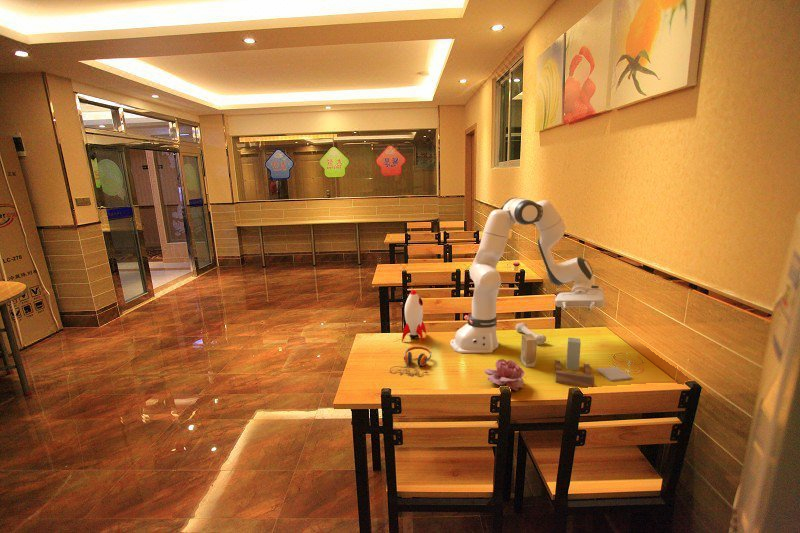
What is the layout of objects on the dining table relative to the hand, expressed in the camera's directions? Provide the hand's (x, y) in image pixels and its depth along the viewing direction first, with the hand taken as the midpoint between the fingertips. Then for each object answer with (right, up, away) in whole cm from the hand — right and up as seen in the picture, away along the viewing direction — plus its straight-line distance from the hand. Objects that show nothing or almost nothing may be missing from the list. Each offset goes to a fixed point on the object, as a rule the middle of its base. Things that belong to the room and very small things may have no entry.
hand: (577, 309), depth 172 cm
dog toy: (-12, -17, +25) cm, 33 cm away
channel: (-7, -24, -12) cm, 28 cm away
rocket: (-69, -17, +28) cm, 76 cm away
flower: (-36, -27, -19) cm, 49 cm away
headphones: (-70, -24, -1) cm, 74 cm away
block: (-5, -23, -6) cm, 25 cm away
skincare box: (-22, -23, -2) cm, 32 cm away
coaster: (+9, -24, -13) cm, 29 cm away
